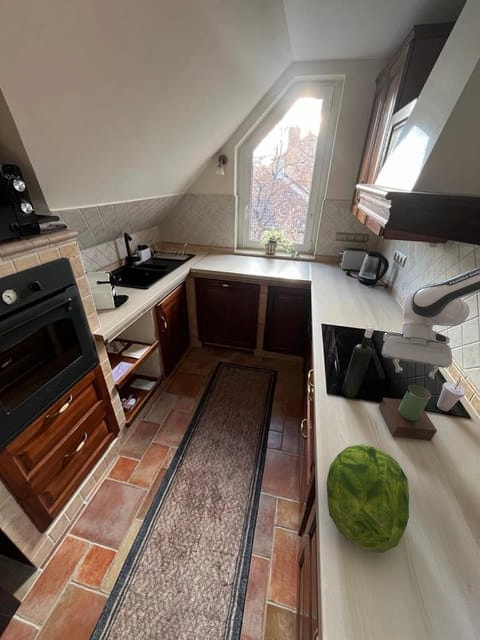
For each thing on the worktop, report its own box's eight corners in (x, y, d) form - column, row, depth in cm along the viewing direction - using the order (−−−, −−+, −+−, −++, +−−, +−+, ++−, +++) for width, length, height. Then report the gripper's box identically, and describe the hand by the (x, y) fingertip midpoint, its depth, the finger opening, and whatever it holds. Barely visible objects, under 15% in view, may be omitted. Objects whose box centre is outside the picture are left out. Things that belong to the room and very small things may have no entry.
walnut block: (412, 410, 92) (417, 400, 89) (430, 440, 82) (437, 430, 79) (378, 407, 93) (382, 397, 90) (392, 436, 82) (397, 426, 80)
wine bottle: (345, 385, 102) (365, 321, 87) (359, 393, 99) (383, 328, 83) (338, 392, 99) (358, 327, 84) (352, 400, 95) (375, 334, 80)
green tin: (413, 406, 87) (424, 385, 82) (422, 421, 82) (435, 399, 77) (394, 404, 88) (404, 383, 83) (402, 419, 82) (414, 398, 77)
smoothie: (432, 408, 93) (448, 380, 86) (432, 398, 97) (448, 370, 90) (453, 417, 90) (472, 388, 83) (453, 405, 94) (471, 377, 87)
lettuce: (424, 467, 66) (372, 410, 68) (441, 564, 46) (367, 479, 49) (365, 486, 75) (321, 435, 78) (358, 572, 56) (300, 501, 58)
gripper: (387, 328, 87) (383, 368, 84) (455, 339, 83) (454, 381, 79) (380, 332, 93) (377, 370, 90) (444, 342, 89) (443, 382, 85)
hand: (414, 375), depth 85 cm, fingers open, 8 cm apart
